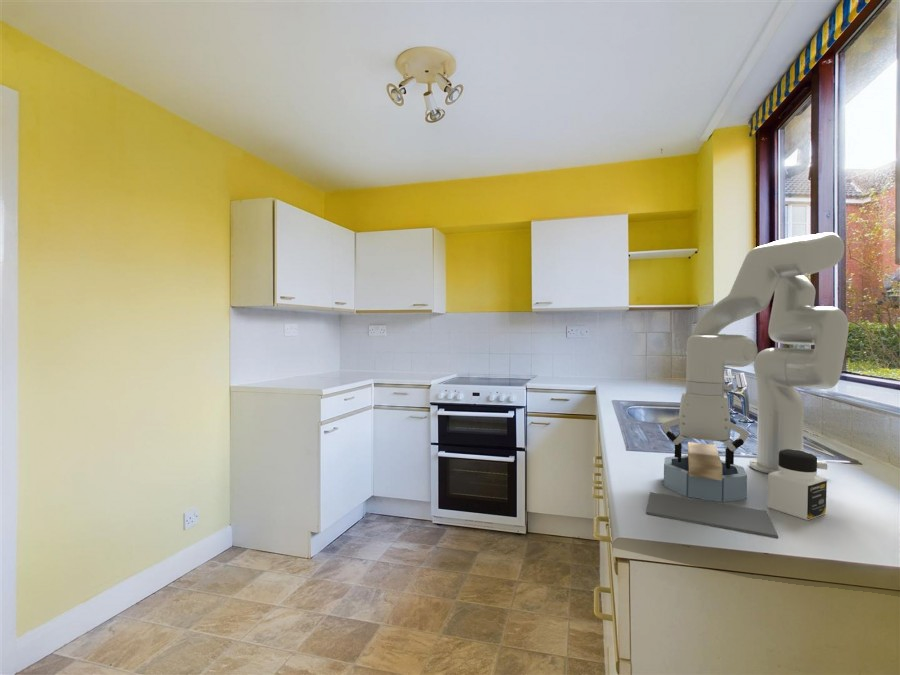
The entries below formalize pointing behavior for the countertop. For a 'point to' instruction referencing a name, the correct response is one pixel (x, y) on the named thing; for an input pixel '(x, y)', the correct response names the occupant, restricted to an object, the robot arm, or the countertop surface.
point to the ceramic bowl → (705, 481)
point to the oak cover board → (704, 461)
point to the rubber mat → (711, 514)
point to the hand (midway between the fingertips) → (703, 463)
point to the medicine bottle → (797, 485)
